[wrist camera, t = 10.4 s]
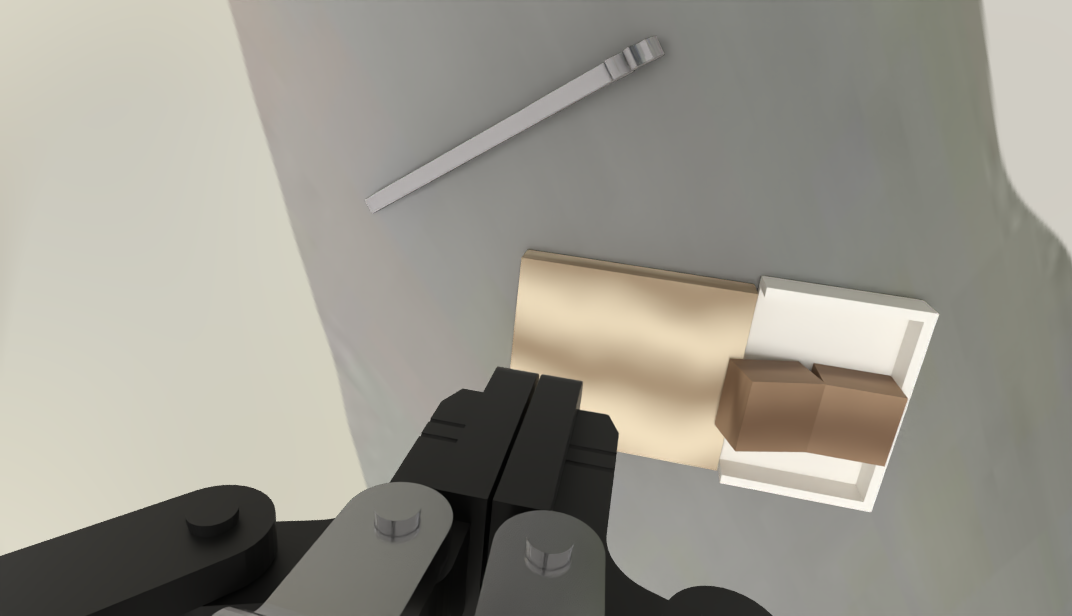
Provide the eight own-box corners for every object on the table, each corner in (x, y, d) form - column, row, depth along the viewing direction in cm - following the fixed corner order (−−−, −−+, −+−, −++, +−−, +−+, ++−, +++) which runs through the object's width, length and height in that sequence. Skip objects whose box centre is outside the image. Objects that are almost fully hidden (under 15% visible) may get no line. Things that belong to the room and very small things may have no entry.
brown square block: (729, 358, 40) (752, 381, 37) (798, 361, 40) (825, 383, 38) (714, 424, 41) (735, 451, 38) (780, 425, 42) (806, 452, 39)
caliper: (656, 36, 37) (654, 29, 31) (665, 55, 37) (664, 51, 31) (366, 198, 43) (320, 217, 37) (375, 213, 44) (330, 235, 38)
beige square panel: (527, 249, 42) (521, 257, 40) (754, 284, 40) (758, 294, 38) (510, 415, 46) (503, 429, 44) (714, 454, 44) (716, 470, 43)
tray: (761, 275, 40) (767, 287, 38) (923, 300, 39) (939, 314, 36) (717, 462, 45) (719, 482, 42) (860, 489, 43) (871, 512, 41)
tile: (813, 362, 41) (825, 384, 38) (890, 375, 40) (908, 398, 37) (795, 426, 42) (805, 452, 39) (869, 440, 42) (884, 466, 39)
